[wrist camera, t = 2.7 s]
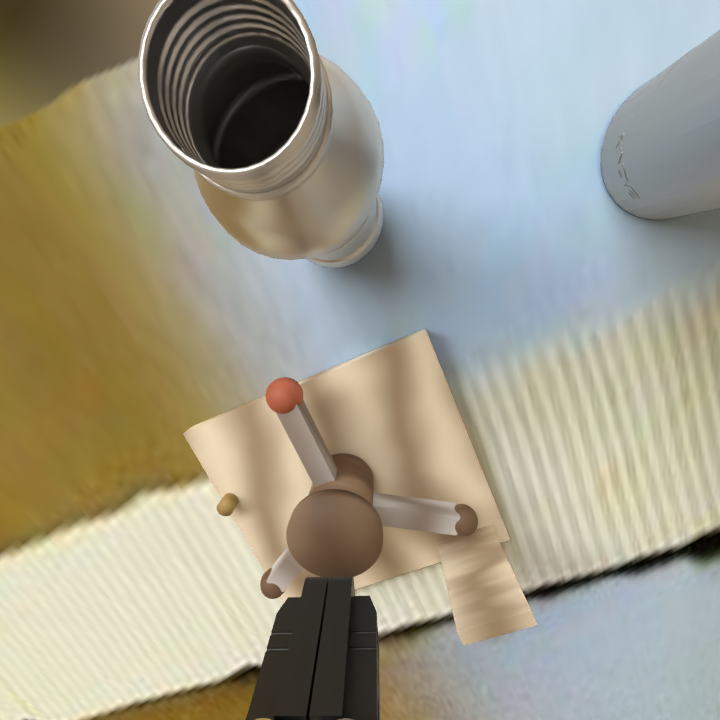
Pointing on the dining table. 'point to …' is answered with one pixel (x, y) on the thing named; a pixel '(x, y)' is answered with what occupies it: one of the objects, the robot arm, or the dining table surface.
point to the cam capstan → (343, 505)
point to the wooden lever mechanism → (374, 477)
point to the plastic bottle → (265, 127)
